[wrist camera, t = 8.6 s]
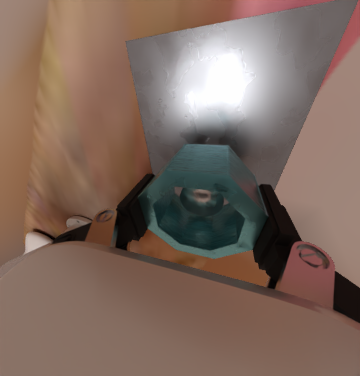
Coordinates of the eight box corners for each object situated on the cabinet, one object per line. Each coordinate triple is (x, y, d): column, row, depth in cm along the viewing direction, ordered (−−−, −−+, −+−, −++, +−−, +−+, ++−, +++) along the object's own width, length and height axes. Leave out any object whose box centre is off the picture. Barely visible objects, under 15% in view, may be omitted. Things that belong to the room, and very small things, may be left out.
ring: (240, 221, 12) (245, 266, 9) (168, 210, 14) (152, 244, 11) (263, 145, 8) (286, 179, 5) (158, 142, 10) (127, 166, 7)
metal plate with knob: (253, 227, 19) (265, 282, 14) (163, 212, 23) (144, 251, 17) (346, 5, 8) (654, -209, 2) (132, 44, 11) (43, 1, 6)
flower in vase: (59, 238, 46) (-63, 347, 26) (65, 251, 53) (-27, 344, 34) (24, 221, 45) (-126, 320, 26) (35, 236, 53) (-76, 322, 33)
